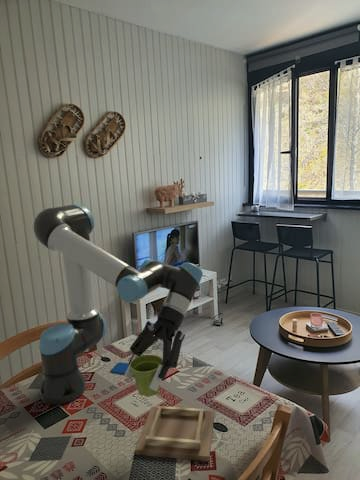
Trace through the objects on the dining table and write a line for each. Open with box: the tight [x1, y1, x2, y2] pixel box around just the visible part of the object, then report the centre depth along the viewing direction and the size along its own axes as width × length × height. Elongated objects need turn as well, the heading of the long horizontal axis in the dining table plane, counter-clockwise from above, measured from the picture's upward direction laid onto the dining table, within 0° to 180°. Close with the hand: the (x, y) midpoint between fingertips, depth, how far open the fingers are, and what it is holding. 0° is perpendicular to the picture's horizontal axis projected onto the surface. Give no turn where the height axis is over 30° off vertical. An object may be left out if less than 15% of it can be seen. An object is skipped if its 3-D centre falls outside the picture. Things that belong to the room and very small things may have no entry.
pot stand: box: [134, 405, 215, 462], centre depth 103 cm, size 20×18×4 cm
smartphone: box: [109, 361, 134, 377], centre depth 138 cm, size 7×1×15 cm
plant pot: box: [130, 354, 163, 398], centre depth 101 cm, size 9×9×9 cm
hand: (139, 383), depth 99 cm, fingers closed on plant pot, 9 cm apart
